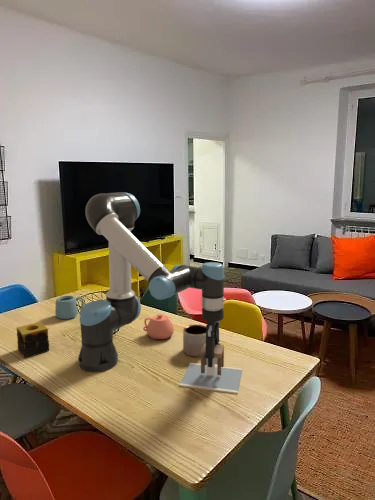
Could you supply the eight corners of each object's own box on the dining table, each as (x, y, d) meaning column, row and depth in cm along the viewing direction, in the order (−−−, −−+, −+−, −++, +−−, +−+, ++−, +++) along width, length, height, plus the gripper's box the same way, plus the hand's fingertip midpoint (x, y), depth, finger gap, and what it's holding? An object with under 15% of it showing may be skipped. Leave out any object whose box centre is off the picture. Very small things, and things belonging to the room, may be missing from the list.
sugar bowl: (170, 342, 163) (170, 320, 162) (139, 340, 166) (139, 318, 164) (176, 331, 175) (176, 310, 173) (147, 329, 178) (146, 308, 176)
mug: (79, 309, 204) (78, 291, 202) (88, 315, 196) (87, 296, 194) (52, 316, 195) (51, 297, 193) (60, 322, 186) (59, 303, 184)
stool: (200, 373, 132) (200, 351, 130) (204, 363, 138) (204, 343, 137) (220, 375, 130) (220, 353, 128) (223, 365, 137) (223, 345, 135)
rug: (179, 386, 130) (179, 384, 130) (190, 363, 145) (190, 362, 145) (237, 393, 125) (237, 392, 125) (242, 370, 140) (242, 368, 140)
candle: (24, 358, 150) (22, 335, 148) (17, 349, 157) (14, 327, 155) (50, 351, 156) (48, 328, 154) (41, 343, 164) (40, 321, 162)
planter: (207, 358, 149) (207, 336, 147) (180, 356, 151) (180, 333, 149) (211, 346, 159) (211, 325, 158) (186, 344, 162) (186, 323, 160)
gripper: (219, 318, 119) (218, 384, 124) (227, 299, 138) (226, 357, 143) (195, 316, 121) (196, 382, 126) (207, 297, 140) (207, 355, 144)
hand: (212, 368), depth 134 cm, fingers closed on stool, 7 cm apart
